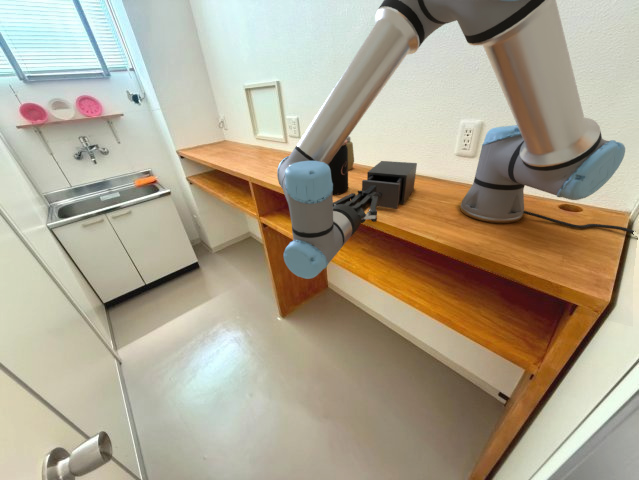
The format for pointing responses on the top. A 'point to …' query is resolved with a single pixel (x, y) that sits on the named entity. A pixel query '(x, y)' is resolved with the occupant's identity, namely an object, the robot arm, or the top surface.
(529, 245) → the top surface
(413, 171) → the cabinet
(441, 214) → the top surface
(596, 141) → the robot arm
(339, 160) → the coffee jar
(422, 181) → the top surface
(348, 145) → the squeeze bottle
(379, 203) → the drawer
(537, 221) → the top surface
